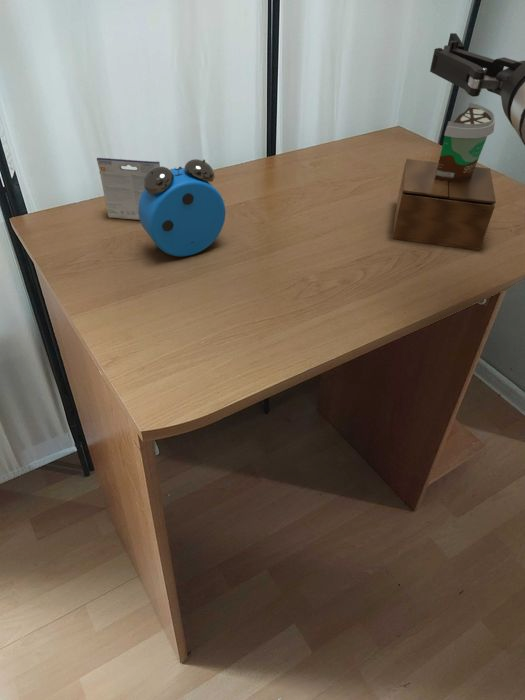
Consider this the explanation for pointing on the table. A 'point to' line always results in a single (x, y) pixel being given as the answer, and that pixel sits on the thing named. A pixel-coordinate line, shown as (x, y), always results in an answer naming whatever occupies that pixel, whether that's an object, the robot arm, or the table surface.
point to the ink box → (123, 185)
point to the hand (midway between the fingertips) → (503, 47)
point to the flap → (474, 187)
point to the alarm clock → (182, 208)
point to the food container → (464, 143)
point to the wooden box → (437, 211)
